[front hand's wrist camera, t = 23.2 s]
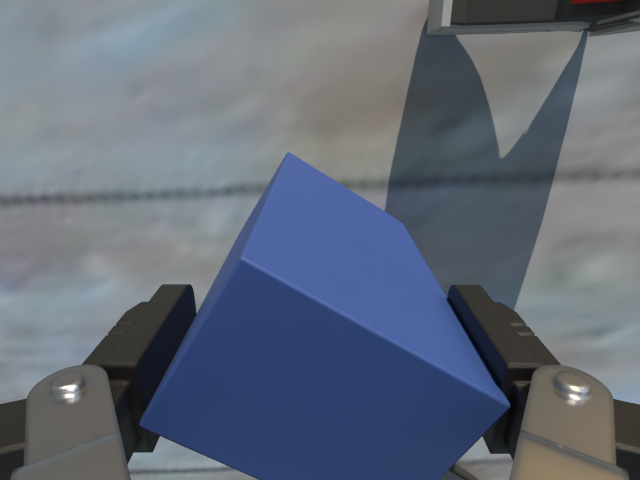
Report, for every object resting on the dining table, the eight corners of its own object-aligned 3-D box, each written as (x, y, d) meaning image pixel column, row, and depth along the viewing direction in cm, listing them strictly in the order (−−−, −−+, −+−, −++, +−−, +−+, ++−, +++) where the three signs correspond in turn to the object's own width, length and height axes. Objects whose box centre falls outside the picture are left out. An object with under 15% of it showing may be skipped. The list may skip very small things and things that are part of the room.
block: (288, 151, 17) (240, 255, 7) (403, 223, 18) (514, 407, 8) (239, 234, 18) (136, 427, 8) (350, 296, 19) (384, 536, 9)
